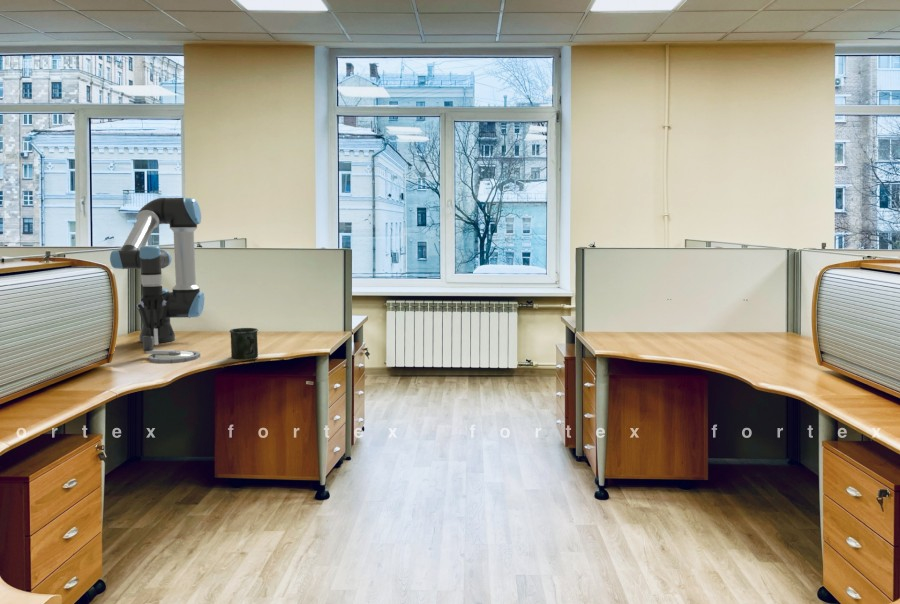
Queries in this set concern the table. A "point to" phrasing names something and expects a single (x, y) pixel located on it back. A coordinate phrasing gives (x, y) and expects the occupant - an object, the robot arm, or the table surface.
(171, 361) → the panel
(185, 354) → the dial
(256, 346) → the mug
